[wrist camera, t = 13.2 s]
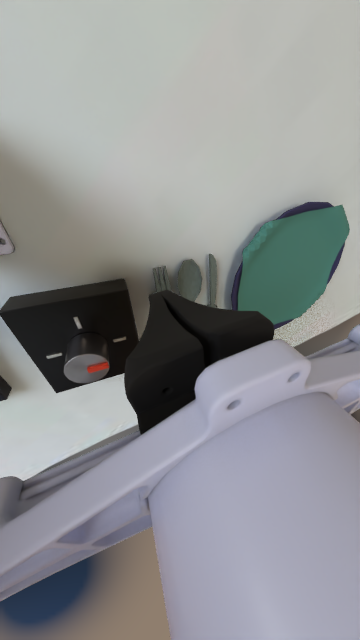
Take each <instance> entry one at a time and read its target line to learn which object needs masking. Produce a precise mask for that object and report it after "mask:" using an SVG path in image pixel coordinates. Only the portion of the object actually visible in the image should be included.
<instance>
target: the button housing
mask: <svg viewBox="0 0 360 640" xmlns="http://www.w3.org/2000/svg"><path fill="white" fill-rule="evenodd" d="M10 391H11V387H10V386H9V385H8V384H7V383H6V382H5V381H4V379H3V378H2V377H1V376H0V401H3V400H6V399H7V398H8V395H9V393H10Z"/></svg>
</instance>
